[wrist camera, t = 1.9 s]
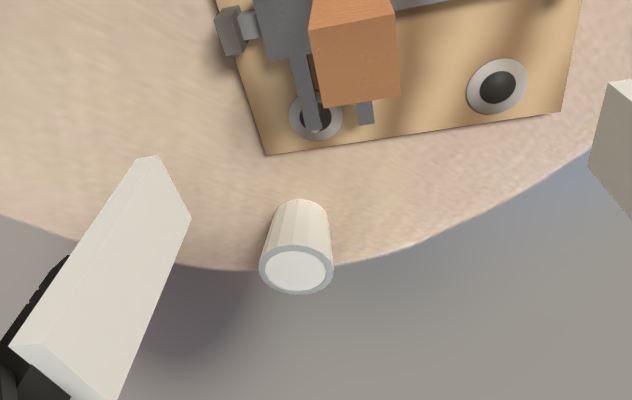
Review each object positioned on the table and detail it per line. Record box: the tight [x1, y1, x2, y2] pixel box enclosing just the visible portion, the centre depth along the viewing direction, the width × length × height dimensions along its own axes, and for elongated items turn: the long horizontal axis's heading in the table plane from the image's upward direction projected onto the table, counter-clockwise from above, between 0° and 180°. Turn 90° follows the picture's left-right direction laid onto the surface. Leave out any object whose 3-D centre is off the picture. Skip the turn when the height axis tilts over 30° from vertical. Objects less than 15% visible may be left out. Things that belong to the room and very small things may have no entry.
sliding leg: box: [308, 0, 401, 126], centre depth 25 cm, size 4×11×11 cm, turn 11°
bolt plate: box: [214, 0, 582, 156], centre depth 29 cm, size 24×14×4 cm, turn 101°
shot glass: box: [258, 199, 334, 295], centre depth 39 cm, size 7×7×7 cm
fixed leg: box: [252, 0, 322, 133], centre depth 29 cm, size 4×11×2 cm, turn 11°
